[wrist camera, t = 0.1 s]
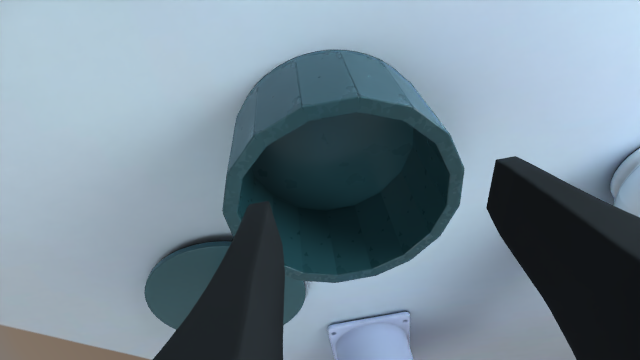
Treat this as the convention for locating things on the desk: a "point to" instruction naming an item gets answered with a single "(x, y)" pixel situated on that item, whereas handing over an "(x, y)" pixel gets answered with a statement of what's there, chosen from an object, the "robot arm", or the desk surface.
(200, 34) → the desk surface
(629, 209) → the flower vase
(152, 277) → the lid
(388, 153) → the pot
